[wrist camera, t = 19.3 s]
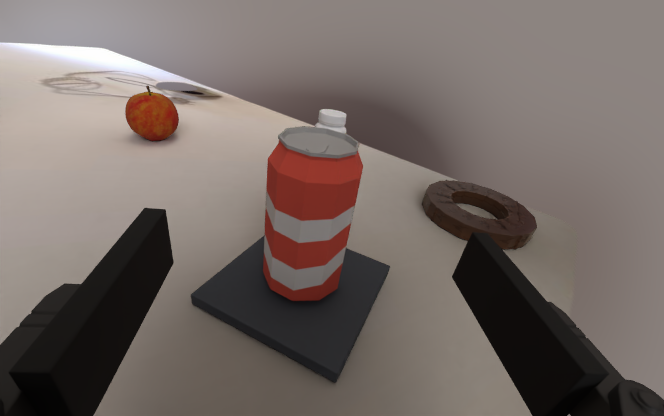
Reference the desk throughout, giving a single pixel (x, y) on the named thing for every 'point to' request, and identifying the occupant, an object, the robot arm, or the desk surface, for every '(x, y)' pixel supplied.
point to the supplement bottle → (332, 120)
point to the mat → (295, 309)
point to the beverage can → (309, 210)
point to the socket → (506, 231)
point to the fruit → (152, 115)
